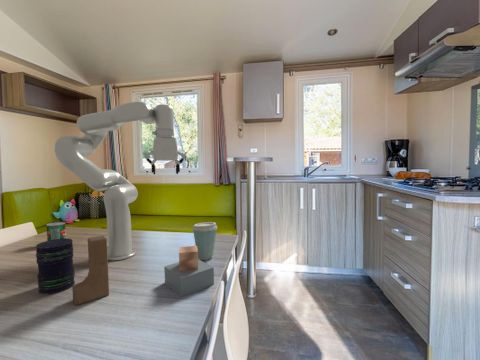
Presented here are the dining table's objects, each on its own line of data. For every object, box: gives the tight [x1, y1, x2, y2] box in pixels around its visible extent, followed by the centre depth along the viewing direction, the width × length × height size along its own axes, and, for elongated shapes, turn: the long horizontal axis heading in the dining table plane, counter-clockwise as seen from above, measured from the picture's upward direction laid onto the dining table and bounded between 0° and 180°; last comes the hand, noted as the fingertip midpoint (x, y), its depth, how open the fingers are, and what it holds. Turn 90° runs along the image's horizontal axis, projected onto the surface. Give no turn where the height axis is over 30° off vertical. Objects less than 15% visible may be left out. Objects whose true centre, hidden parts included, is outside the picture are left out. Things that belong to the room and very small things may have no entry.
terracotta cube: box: [178, 245, 198, 271], centre depth 84 cm, size 6×6×6 cm
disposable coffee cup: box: [192, 221, 218, 261], centre depth 107 cm, size 11×11×15 cm
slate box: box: [164, 259, 215, 297], centre depth 84 cm, size 12×12×6 cm
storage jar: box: [35, 238, 76, 295], centre depth 82 cm, size 10×10×15 cm
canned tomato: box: [45, 221, 67, 241], centre depth 127 cm, size 8×8×11 cm
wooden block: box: [71, 235, 110, 306], centre depth 75 cm, size 9×4×18 cm, turn 130°
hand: (165, 174), depth 108 cm, fingers open, 9 cm apart
